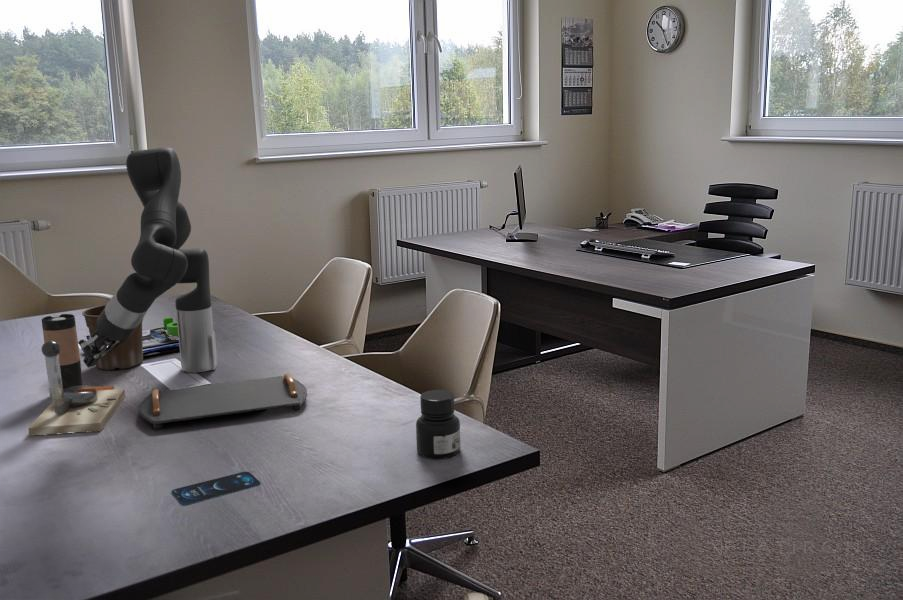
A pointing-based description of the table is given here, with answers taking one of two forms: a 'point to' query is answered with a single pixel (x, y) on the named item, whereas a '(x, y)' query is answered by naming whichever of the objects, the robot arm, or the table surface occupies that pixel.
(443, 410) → the ink bottle
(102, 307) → the plant pot
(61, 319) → the travel mug
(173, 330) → the tape dispenser
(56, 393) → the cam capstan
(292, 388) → the serving board
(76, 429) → the flat beige board
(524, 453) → the table surface
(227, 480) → the smartphone
